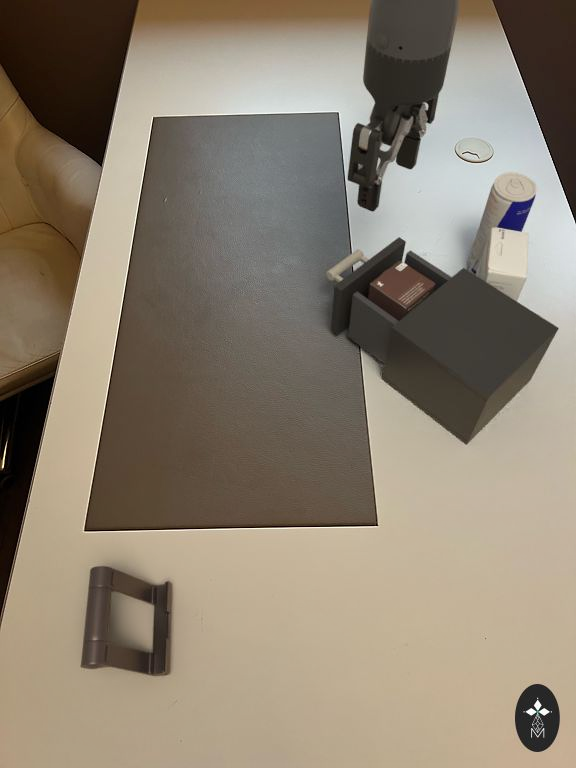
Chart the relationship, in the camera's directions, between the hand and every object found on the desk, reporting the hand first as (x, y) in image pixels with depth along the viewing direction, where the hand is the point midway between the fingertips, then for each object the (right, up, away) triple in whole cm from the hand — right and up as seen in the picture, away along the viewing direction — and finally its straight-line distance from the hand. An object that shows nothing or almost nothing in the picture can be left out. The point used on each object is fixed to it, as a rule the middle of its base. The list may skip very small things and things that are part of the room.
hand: (387, 185), depth 68 cm
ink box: (+17, -12, +19) cm, 28 cm away
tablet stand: (-27, -47, -5) cm, 54 cm away
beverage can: (+18, -5, +24) cm, 30 cm away
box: (+3, -13, +16) cm, 21 cm away
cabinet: (+11, -21, +12) cm, 27 cm away
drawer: (+2, -13, +17) cm, 22 cm away
